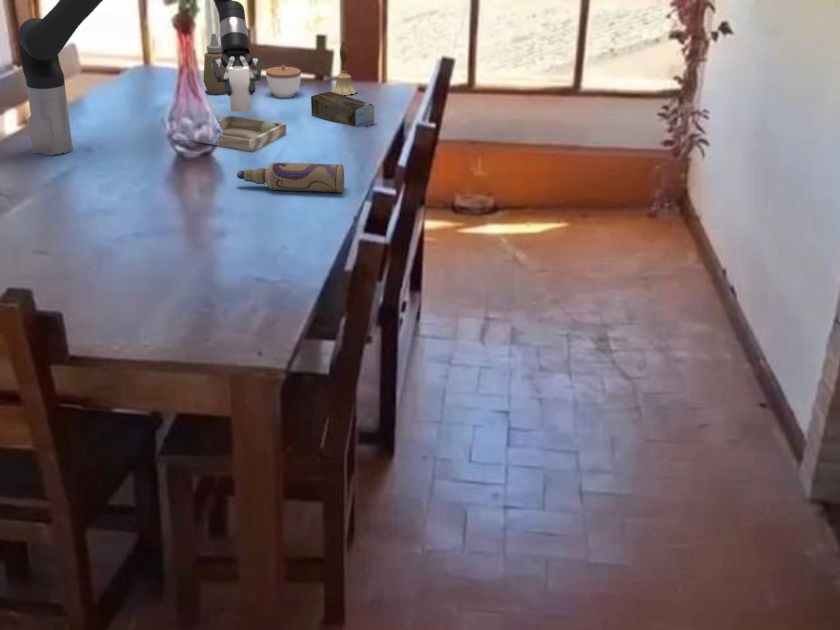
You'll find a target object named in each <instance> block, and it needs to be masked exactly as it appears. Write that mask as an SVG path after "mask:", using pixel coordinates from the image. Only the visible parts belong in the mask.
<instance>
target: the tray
mask: <svg viewBox="0 0 840 630" xmlns="http://www.w3.org/2000/svg"><path fill="white" fill-rule="evenodd" d="M217 121H218V123H219V124H220V127H221V129H222V130H223V135H219V137H218V146H217V147H219V148H220V147H221V148H227V149H232V150H238V151H239V150H240V151H245V152H251V153H254V152H256V151H257V150H259V149H261V148H263V147H265V146H267V145H269V144H270V143H272V142H274V141H276V140H278V139H280V138H282V137H283V136H286V135H287V123H283V122H276V121H272V122H273V123H274V124H275V126H276V127H275V128H273V129H271V130H269V131H267V132H265V133H263V132H262V130H261V126H262V124H263V123H264V122H266V121H267V120H263V119H258V118H257V119H256V118H249V117H243V116H237V115H236V116H235V115H230V114H229V115H228V116H225V117H223V118H221V119H218V120H217Z"/></svg>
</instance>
